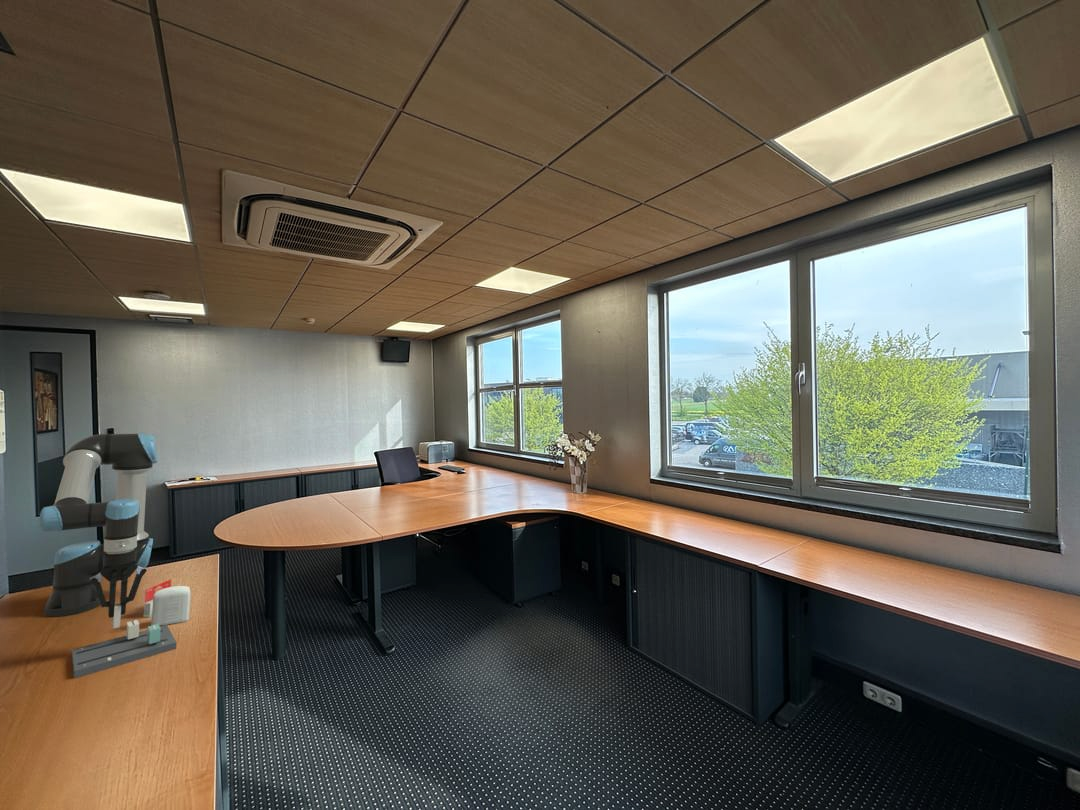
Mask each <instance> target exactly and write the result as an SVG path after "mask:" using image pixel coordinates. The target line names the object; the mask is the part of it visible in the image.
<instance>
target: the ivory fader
mask: <svg viewBox="0 0 1080 810" xmlns="http://www.w3.org/2000/svg"><path fill="white" fill-rule="evenodd" d="M139 632H140V622H139V620H138V619H135V620H131V621H127V622H126V633H125V636H127V639H132V638H136V637H139Z"/></svg>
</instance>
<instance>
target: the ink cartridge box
mask: <svg viewBox="0 0 1080 810" xmlns="http://www.w3.org/2000/svg"><path fill="white" fill-rule="evenodd" d="M158 587H161V588H159V589H157V588H158ZM168 587H172V578H171V579H167V580H166V581H163V582H161V583H158V584H156V585H154V586H152V587H149V588H146V589H145V590H144V606H143V607H144V608H143V616H142V617H143V618H148V619H149V618H152V608H153V597H154V595H155V593H156V591H158V590H161V589H164V588H168ZM156 589H157V590H156Z"/></svg>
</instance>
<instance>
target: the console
mask: <svg viewBox="0 0 1080 810" xmlns="http://www.w3.org/2000/svg"><path fill="white" fill-rule="evenodd" d="M160 628H161V631H160V641H159V642H156V643H152V644H149V642H148V640H147V634H148V629H145V630H141V631H139V637H136V638H132V639H127V636H126V635H122V636H119V637H115V638H112V639H111V638H110V639H108V640H107V639H106V640H103V641H99V642H95V643H92V644H87V645H84V646H83V645H82V646H80V647H76V648H72V649H71V663H72V670H73V671H72V672H73V679H77V678H81V677H84V676H87V675H91V674H94V673H97V672H101V671H104V670H108V669H111V668H115V667H118V666H122V665H125V664H128V663H131V662H136V661H139V660H142V659H145V658H148V657H152V656H156V655H159V654H162V653H166V652H169V651H173V650H176V649H177V640H176V638H175V637H174V635H173V634H172V633H173V632H171V629H170V628H169V625H168V624H167V625H161V626H160Z"/></svg>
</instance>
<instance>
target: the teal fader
mask: <svg viewBox="0 0 1080 810" xmlns="http://www.w3.org/2000/svg"><path fill="white" fill-rule="evenodd" d="M160 627H161V626H159V624H156V625H152V626H151V625H150V626H149V625H148V626H147V630H148V634H147V640H148V642H149V644H152V643H156V642H159V641H160V631H161V628H160Z"/></svg>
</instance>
